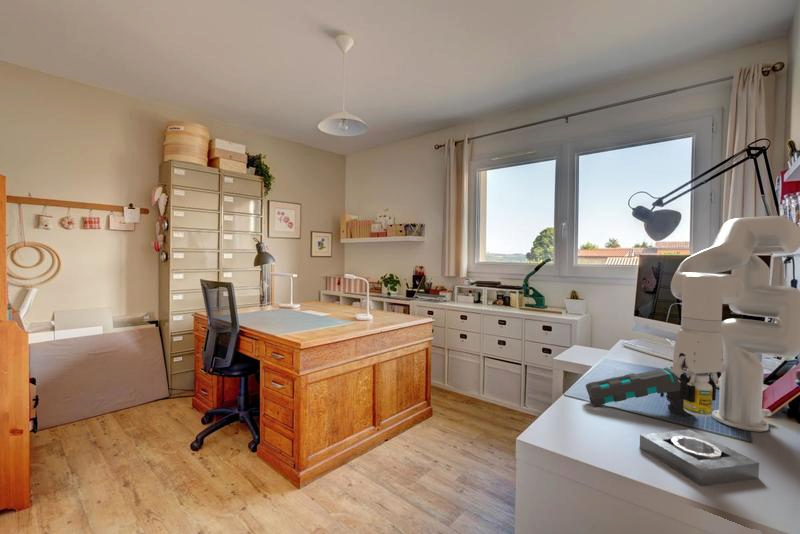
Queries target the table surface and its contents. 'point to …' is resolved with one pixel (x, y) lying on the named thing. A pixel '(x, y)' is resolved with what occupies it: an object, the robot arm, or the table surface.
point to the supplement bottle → (700, 397)
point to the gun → (639, 388)
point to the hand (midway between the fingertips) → (697, 398)
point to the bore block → (699, 457)
